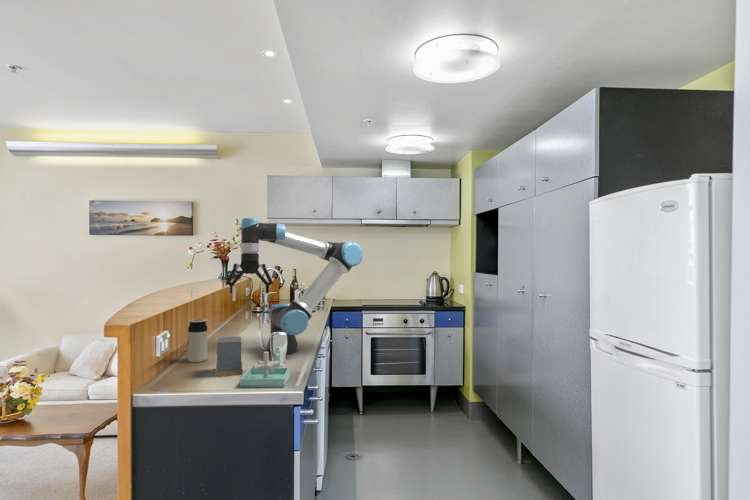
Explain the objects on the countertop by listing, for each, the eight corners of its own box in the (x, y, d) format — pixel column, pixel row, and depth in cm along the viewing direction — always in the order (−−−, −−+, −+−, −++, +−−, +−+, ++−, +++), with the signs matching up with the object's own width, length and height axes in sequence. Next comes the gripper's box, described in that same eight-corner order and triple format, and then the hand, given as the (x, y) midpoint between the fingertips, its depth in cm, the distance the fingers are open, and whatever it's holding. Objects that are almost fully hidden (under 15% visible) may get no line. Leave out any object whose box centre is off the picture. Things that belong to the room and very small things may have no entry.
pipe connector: (284, 379, 163) (284, 352, 164) (259, 384, 157) (260, 356, 157) (271, 373, 171) (271, 348, 171) (247, 378, 164) (247, 351, 164)
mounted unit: (216, 368, 182) (216, 337, 182) (241, 366, 185) (242, 335, 185) (215, 376, 169) (215, 343, 169) (242, 374, 172) (242, 341, 172)
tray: (249, 375, 171) (249, 367, 171) (289, 375, 172) (289, 367, 172) (239, 387, 155) (239, 379, 156) (284, 387, 157) (284, 378, 157)
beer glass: (290, 368, 182) (290, 332, 182) (281, 372, 176) (281, 335, 176) (275, 367, 184) (275, 331, 185) (266, 371, 178) (266, 334, 178)
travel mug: (209, 358, 199) (210, 318, 199) (203, 362, 191) (203, 321, 191) (191, 358, 199) (192, 318, 199) (184, 362, 191) (185, 321, 191)
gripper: (218, 252, 190) (218, 301, 189) (277, 252, 191) (276, 301, 191) (223, 252, 197) (223, 299, 197) (279, 253, 199) (279, 299, 199)
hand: (249, 300), depth 194 cm, fingers open, 13 cm apart
